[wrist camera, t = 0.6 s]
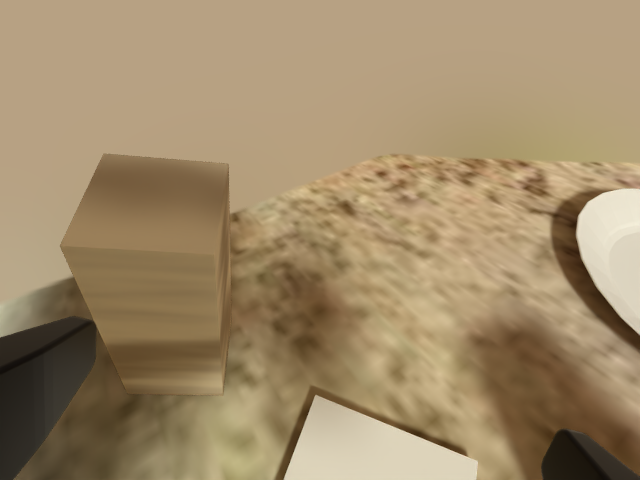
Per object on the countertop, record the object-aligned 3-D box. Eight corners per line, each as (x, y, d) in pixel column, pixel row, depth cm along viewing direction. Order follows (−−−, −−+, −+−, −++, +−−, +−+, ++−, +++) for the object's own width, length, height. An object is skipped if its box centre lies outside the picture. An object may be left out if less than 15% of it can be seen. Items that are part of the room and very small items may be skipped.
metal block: (223, 395, 24) (214, 254, 15) (127, 394, 23) (59, 245, 14) (231, 316, 27) (228, 163, 18) (148, 313, 27) (103, 153, 18)
